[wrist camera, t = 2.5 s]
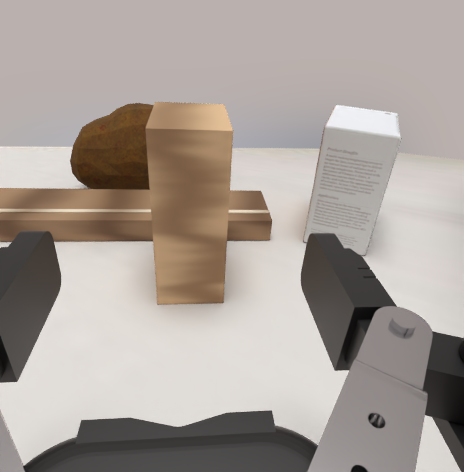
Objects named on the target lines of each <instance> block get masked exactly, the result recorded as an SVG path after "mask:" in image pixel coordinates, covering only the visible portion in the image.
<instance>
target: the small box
mask: <svg viewBox="0 0 464 472" xmlns="http://www.w3.org/2000/svg"><path fill="white" fill-rule="evenodd" d="M400 142H401V135H400V131H399V125H398V114H396V113H391V112H384V111H377V110H370V109H362V108H355V107H348V106H340V105H336V106H335V107H334V109H333V111H332V113H331V115H330V117H329V119H328V121H327V123H326V125H325V127H324V131H323V137H322V142H321V147H320V152H319V158H318V163H317V168H316V174H315V180H314V186H313V191H312V196H311V201H310V207H309V212H308V218H307V224H306V229H305V233H304V238H303V242H306V243H307V241H308V237H309V235H310V234H311V233H334V234H335V235H336V236H337V238H338V239H339V241H340V242H341V244H342V245H343V247H344V248H350V249H352V250H353V251H354V252H356V253H357V254H359V255H365V254H366V251H367V248H368V245H369V242H370V239H371V236H372V232H373V229H374V226H375V223H376V219H377V216H378V213H379V210H380V206H381V203H382V200H383V197H384V194H385V190H386V187H387V184H388V181H389V178H390V175H391V171H392V168H393V165H394V162H395V159H396V155H397V152H398V149H399V146H400Z"/></svg>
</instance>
